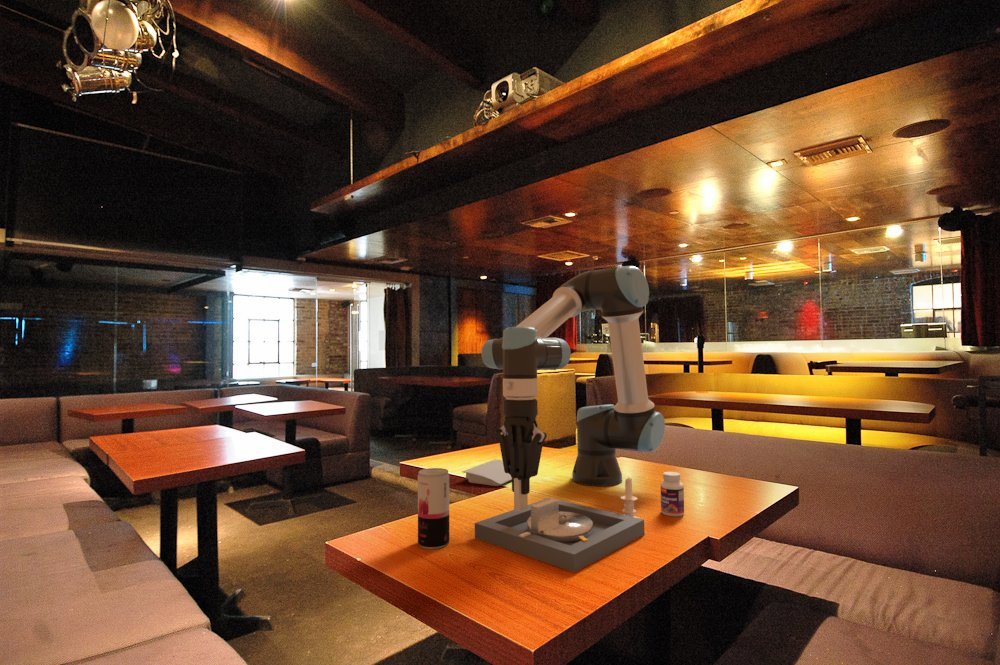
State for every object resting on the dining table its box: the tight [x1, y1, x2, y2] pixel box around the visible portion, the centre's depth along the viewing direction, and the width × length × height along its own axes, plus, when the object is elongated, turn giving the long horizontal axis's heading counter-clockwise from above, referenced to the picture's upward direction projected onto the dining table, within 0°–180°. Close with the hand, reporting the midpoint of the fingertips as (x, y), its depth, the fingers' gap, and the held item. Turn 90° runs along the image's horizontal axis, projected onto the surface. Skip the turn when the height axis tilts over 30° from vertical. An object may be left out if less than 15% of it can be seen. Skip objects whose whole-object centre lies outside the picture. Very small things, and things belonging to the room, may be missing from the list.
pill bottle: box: [660, 471, 685, 517], centre depth 126 cm, size 5×5×10 cm
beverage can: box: [417, 467, 451, 550], centre depth 108 cm, size 7×6×15 cm
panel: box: [474, 497, 645, 573], centre depth 111 cm, size 26×26×4 cm
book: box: [461, 458, 512, 487], centre depth 164 cm, size 15×23×4 cm, turn 150°
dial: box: [527, 498, 593, 543], centre depth 110 cm, size 16×14×7 cm
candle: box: [620, 476, 641, 519], centre depth 121 cm, size 5×5×10 cm
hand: (520, 508), depth 110 cm, fingers closed
